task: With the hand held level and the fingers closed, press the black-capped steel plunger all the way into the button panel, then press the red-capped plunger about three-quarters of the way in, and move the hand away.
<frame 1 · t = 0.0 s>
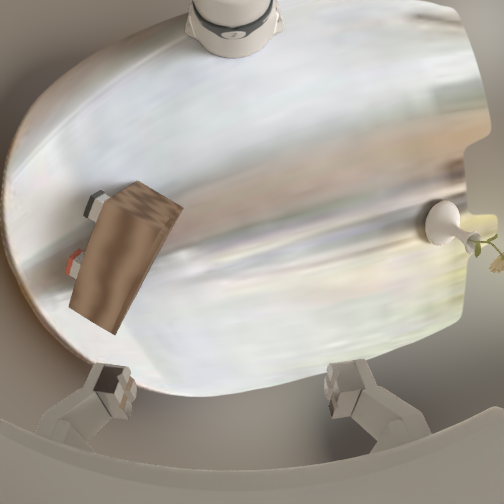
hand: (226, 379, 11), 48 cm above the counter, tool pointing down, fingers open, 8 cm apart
flower in vase: (441, 220, 59), on the counter
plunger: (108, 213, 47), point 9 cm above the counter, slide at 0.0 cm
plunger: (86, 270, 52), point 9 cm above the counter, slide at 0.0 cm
button panel: (134, 240, 59), on the counter
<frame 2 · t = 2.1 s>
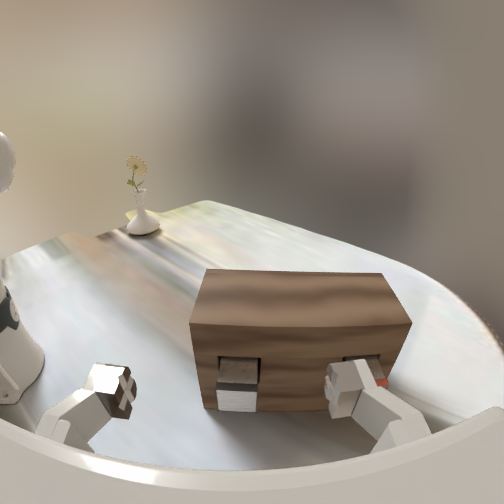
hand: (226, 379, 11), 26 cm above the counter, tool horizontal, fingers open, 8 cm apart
flower in vase: (142, 231, 92), on the counter
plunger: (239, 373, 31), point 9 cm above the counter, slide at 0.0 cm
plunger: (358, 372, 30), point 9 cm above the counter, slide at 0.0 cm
button panel: (289, 384, 39), on the counter
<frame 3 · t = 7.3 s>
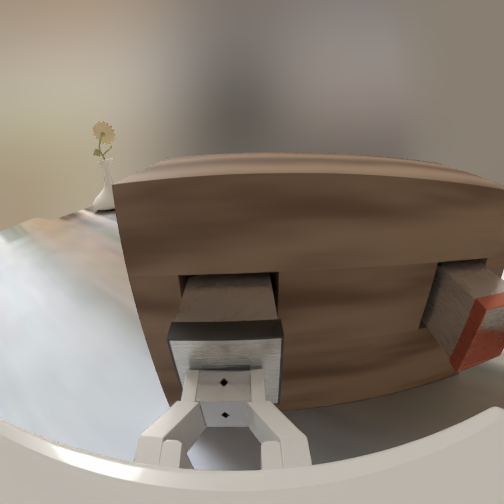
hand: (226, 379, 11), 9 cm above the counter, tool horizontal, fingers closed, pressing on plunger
flower in vase: (111, 208, 74), on the counter
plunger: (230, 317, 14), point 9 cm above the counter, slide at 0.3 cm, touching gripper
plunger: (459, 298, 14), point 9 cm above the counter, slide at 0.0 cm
button panel: (322, 359, 23), on the counter
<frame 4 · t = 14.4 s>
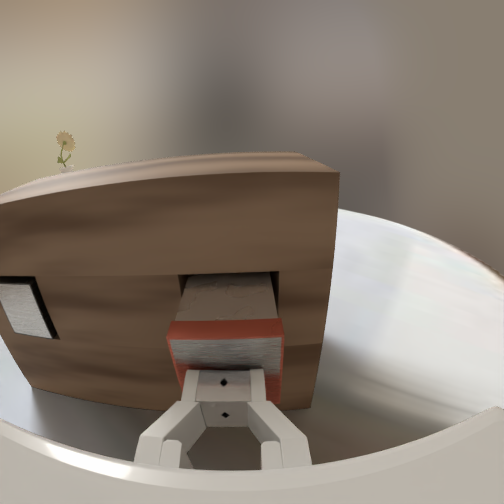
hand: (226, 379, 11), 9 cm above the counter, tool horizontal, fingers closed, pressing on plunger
flower in vase: (72, 212, 74), on the counter
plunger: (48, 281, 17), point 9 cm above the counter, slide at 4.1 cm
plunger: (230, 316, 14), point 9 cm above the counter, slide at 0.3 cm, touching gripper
button panel: (158, 363, 23), on the counter
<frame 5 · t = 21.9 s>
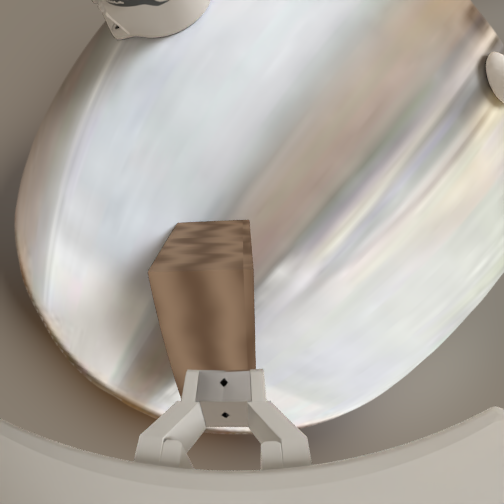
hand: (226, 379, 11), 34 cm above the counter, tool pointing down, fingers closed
flower in vase: (498, 76, 32), on the counter
button panel: (215, 289, 48), on the counter
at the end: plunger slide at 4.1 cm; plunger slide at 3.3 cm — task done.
